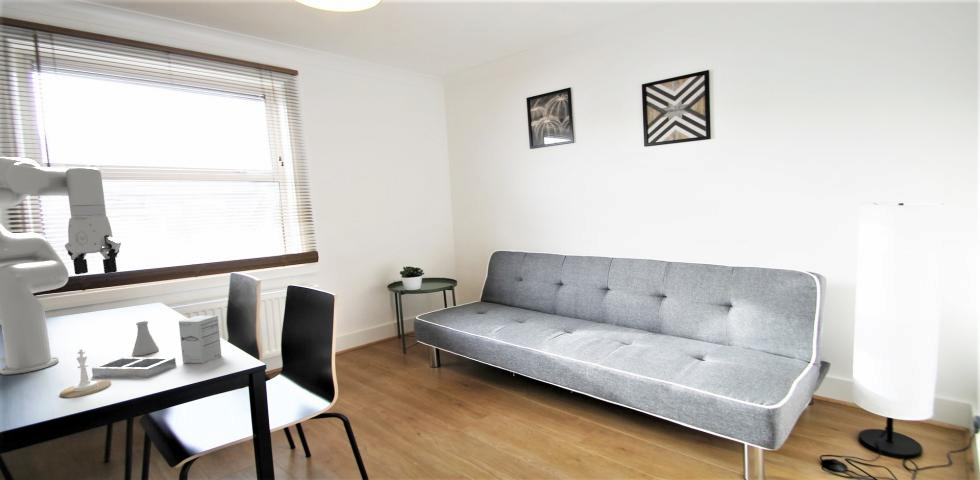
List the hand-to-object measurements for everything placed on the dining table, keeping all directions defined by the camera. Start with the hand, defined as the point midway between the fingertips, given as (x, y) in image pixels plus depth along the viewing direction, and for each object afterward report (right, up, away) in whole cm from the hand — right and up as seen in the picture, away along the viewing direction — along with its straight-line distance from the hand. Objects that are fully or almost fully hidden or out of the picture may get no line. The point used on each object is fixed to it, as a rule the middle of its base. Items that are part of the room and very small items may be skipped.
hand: (96, 273), depth 133 cm
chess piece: (+7, -29, -12) cm, 32 cm away
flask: (0, -27, +19) cm, 33 cm away
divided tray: (+10, -28, +1) cm, 30 cm away
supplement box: (+25, -27, +8) cm, 37 cm away
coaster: (+7, -29, -12) cm, 32 cm away
